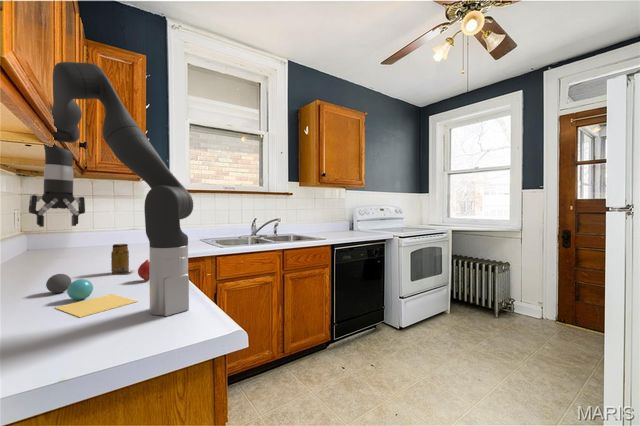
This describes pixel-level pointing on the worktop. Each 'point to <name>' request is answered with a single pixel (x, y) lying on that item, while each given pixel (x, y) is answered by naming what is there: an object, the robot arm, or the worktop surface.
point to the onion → (144, 270)
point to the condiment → (120, 260)
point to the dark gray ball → (58, 283)
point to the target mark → (95, 305)
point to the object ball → (80, 289)
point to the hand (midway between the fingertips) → (58, 226)
